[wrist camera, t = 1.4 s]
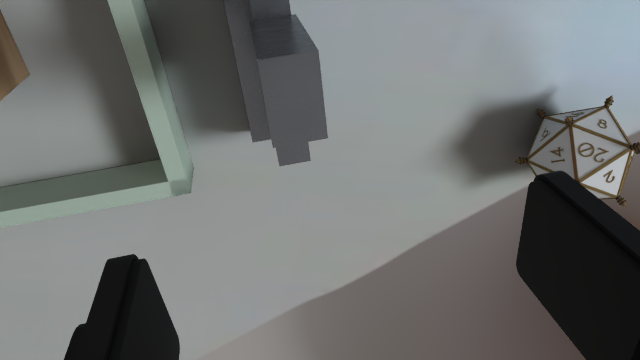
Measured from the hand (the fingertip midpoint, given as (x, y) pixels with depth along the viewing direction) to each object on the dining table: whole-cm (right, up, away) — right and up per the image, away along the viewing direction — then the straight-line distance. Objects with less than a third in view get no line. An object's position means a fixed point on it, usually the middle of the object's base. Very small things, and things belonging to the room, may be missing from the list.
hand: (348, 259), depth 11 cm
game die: (+19, +6, +28) cm, 34 cm away
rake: (-4, +12, +19) cm, 23 cm away
